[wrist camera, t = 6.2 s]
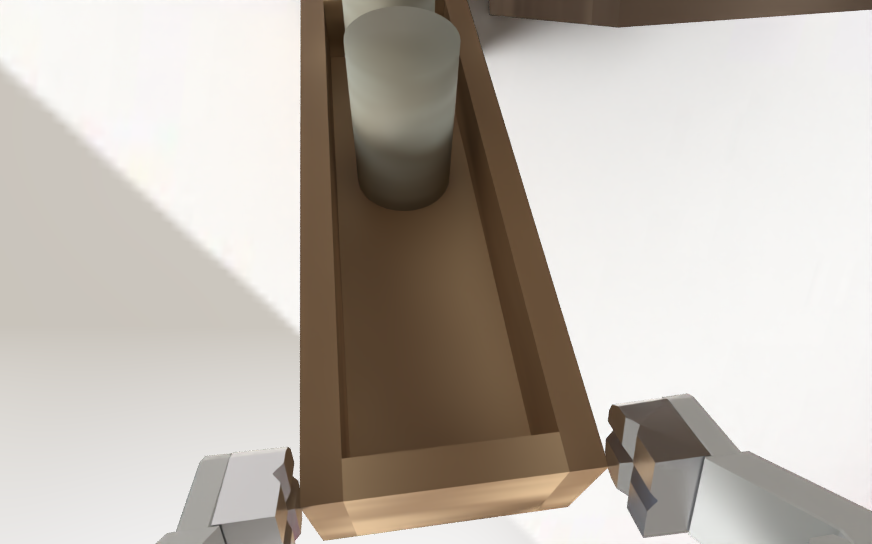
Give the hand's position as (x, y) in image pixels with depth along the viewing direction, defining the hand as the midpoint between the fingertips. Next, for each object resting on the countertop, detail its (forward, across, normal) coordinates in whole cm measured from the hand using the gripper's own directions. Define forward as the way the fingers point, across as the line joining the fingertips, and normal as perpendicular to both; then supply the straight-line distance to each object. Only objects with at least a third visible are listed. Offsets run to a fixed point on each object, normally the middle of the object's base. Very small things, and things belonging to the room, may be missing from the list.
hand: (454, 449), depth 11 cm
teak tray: (+9, 0, -1) cm, 9 cm away
